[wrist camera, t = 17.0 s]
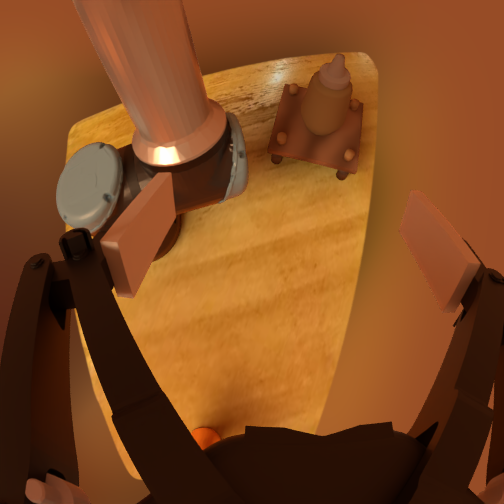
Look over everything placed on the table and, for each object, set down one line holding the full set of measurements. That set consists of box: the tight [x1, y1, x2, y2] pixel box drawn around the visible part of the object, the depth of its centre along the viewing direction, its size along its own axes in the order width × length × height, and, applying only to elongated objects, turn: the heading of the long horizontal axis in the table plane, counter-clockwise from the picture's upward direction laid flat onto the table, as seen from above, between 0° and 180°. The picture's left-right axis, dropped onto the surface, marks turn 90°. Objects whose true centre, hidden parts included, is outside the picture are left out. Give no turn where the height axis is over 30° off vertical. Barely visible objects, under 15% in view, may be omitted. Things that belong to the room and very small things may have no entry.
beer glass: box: [191, 427, 221, 450], centre depth 40 cm, size 7×7×15 cm
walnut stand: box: [268, 84, 363, 180], centre depth 52 cm, size 16×16×8 cm
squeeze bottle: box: [301, 54, 352, 136], centre depth 41 cm, size 8×8×18 cm
